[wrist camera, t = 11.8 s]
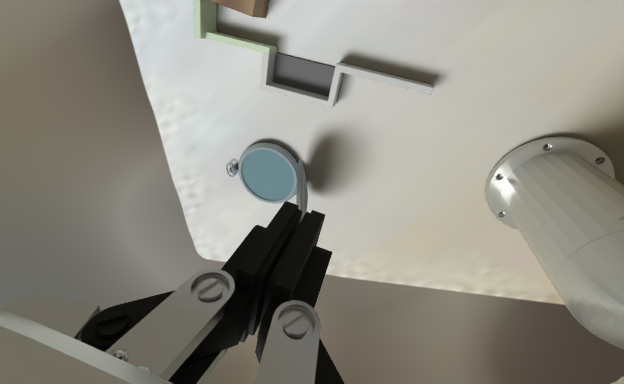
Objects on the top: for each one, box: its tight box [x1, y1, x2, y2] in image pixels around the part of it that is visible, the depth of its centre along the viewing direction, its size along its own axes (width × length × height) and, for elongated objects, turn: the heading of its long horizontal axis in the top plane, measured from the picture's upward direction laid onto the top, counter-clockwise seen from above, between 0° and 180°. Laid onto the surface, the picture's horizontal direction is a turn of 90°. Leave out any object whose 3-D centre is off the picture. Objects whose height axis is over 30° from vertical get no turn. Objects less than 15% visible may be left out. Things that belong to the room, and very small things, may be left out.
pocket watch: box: [226, 142, 308, 222], centre depth 39 cm, size 10×11×15 cm
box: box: [194, 0, 434, 108], centre depth 30 cm, size 28×20×4 cm
